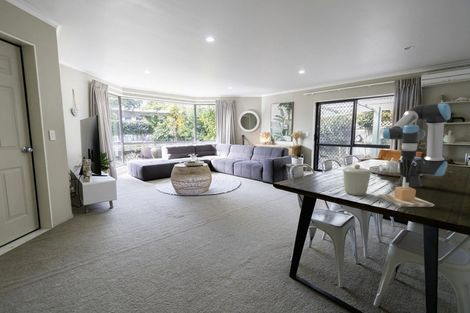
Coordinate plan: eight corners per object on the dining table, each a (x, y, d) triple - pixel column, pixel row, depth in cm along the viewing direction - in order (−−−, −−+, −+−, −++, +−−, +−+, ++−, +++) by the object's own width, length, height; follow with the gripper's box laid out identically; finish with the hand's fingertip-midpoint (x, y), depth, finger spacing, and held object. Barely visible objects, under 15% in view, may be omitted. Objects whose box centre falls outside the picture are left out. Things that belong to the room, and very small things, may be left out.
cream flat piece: (407, 196, 150) (408, 188, 149) (434, 206, 130) (435, 196, 129) (378, 196, 150) (379, 187, 149) (400, 206, 130) (400, 196, 129)
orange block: (407, 197, 143) (408, 186, 142) (414, 200, 137) (416, 189, 136) (394, 197, 143) (395, 186, 142) (401, 200, 137) (402, 189, 136)
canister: (376, 197, 148) (378, 166, 146) (349, 197, 148) (351, 166, 145) (360, 190, 166) (362, 162, 164) (336, 190, 166) (338, 162, 163)
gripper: (395, 149, 143) (392, 184, 146) (411, 151, 130) (407, 190, 133) (406, 149, 143) (403, 184, 146) (423, 151, 130) (419, 190, 133)
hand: (405, 187), depth 139 cm, fingers closed
